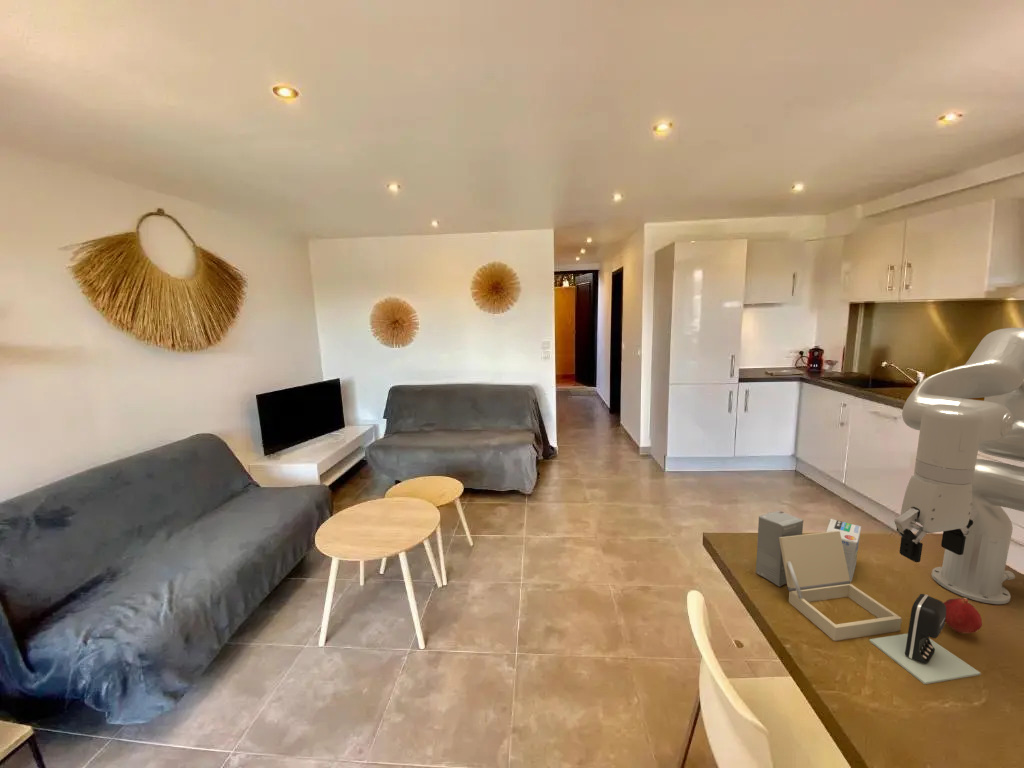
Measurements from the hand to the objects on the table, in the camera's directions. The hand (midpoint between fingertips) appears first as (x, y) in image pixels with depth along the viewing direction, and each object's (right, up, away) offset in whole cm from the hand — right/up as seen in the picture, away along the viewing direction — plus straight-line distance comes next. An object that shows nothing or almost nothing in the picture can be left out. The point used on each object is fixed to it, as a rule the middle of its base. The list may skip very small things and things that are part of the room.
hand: (930, 554), depth 79 cm
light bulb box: (+4, -15, +28) cm, 32 cm away
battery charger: (-1, -20, 0) cm, 20 cm away
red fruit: (+12, -19, +6) cm, 23 cm away
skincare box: (-13, -16, +25) cm, 33 cm away
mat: (-2, -20, 0) cm, 20 cm away
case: (-9, -18, +13) cm, 24 cm away
